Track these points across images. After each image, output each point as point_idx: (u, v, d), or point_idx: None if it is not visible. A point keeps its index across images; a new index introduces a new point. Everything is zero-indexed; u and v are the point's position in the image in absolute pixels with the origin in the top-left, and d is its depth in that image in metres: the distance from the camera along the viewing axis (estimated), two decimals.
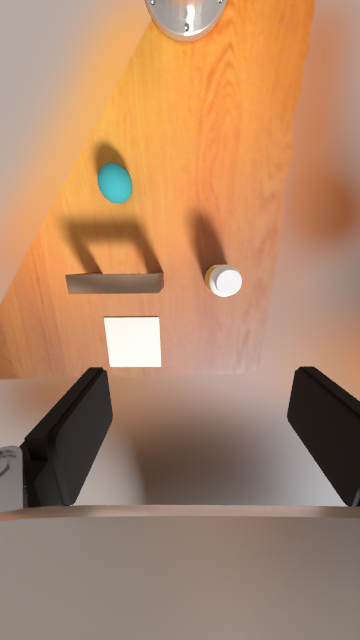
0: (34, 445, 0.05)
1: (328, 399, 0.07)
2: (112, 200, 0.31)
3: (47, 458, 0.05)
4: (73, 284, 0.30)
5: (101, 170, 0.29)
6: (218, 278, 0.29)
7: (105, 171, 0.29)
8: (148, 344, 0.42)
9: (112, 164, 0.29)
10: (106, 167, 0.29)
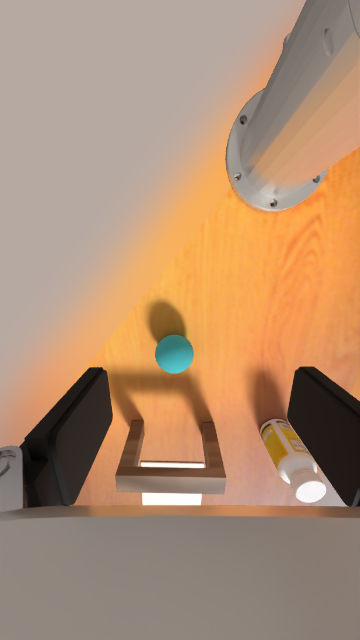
0: (34, 445, 0.05)
1: (328, 399, 0.07)
2: None
3: (47, 458, 0.05)
4: (123, 484, 0.25)
5: (163, 352, 0.25)
6: (299, 488, 0.24)
7: (169, 356, 0.24)
8: None
9: (177, 346, 0.25)
10: (170, 351, 0.24)
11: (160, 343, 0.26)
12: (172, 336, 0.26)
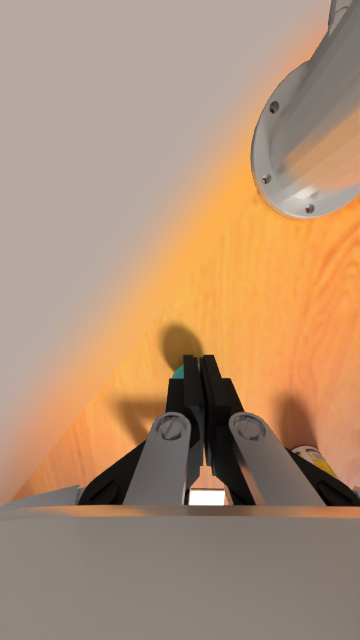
0: (190, 411, 0.06)
1: (203, 379, 0.08)
2: None
3: (197, 423, 0.06)
4: None
5: None
6: None
7: None
8: None
9: None
10: None
11: (177, 375, 0.23)
12: None
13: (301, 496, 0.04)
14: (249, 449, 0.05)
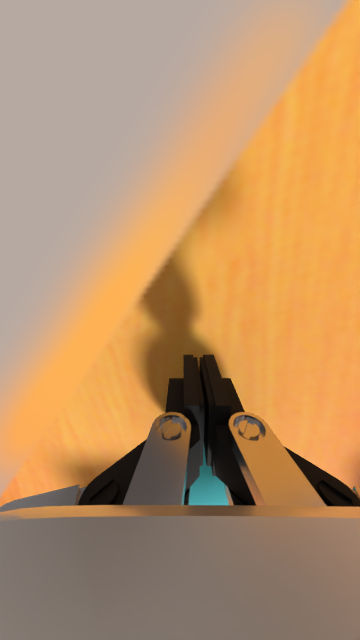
0: (190, 411, 0.06)
1: (203, 379, 0.08)
2: None
3: (197, 423, 0.06)
4: None
5: None
6: None
7: (202, 496, 0.09)
8: None
9: None
10: (203, 482, 0.09)
11: None
12: None
13: (301, 496, 0.04)
14: (249, 449, 0.05)
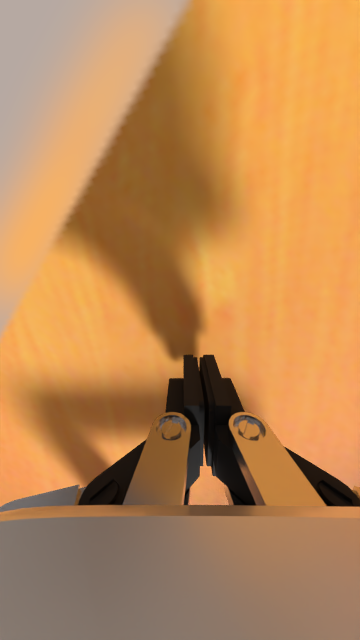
0: (190, 411, 0.06)
1: (203, 379, 0.08)
2: None
3: (197, 423, 0.06)
4: None
5: None
6: None
7: None
8: None
9: None
10: None
11: None
12: None
13: (301, 496, 0.04)
14: (249, 449, 0.05)
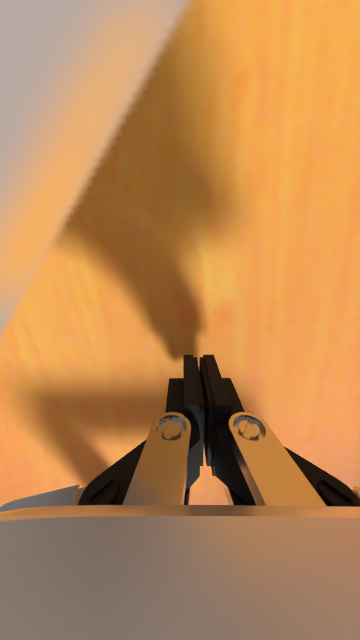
0: (190, 411, 0.06)
1: (203, 379, 0.08)
2: None
3: (197, 423, 0.06)
4: None
5: None
6: None
7: None
8: None
9: None
10: None
11: None
12: None
13: (301, 496, 0.04)
14: (249, 449, 0.05)
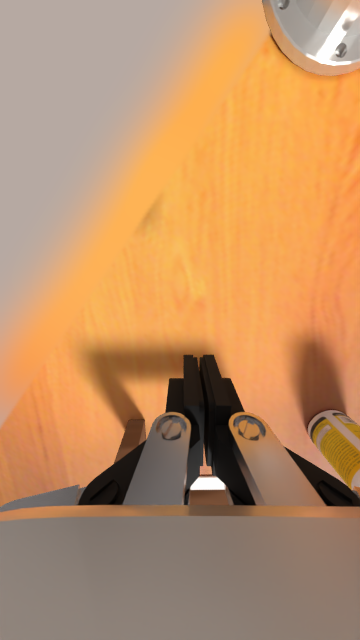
0: (190, 411, 0.06)
1: (203, 379, 0.08)
2: None
3: (197, 423, 0.06)
4: None
5: None
6: None
7: None
8: None
9: None
10: None
11: None
12: None
13: (301, 496, 0.04)
14: (249, 449, 0.05)
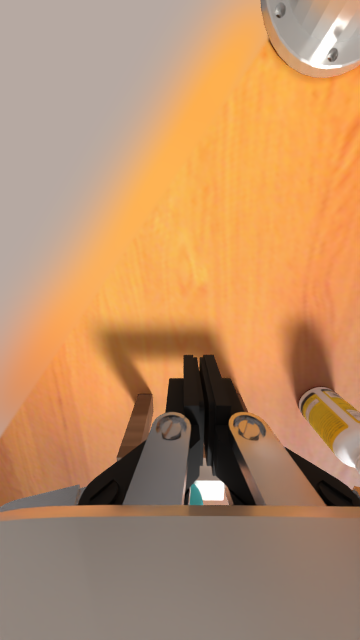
0: (190, 411, 0.06)
1: (203, 379, 0.08)
2: None
3: (197, 423, 0.06)
4: None
5: None
6: None
7: None
8: None
9: None
10: None
11: None
12: None
13: (301, 496, 0.04)
14: (249, 449, 0.05)
